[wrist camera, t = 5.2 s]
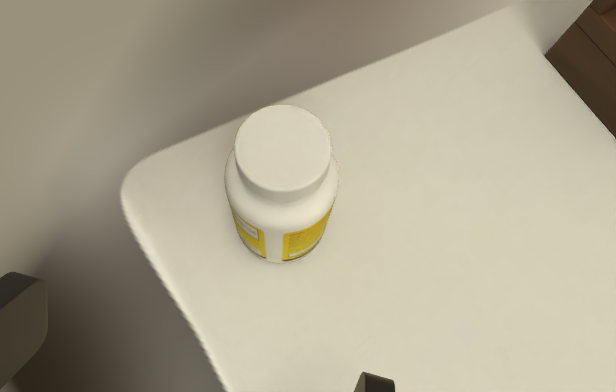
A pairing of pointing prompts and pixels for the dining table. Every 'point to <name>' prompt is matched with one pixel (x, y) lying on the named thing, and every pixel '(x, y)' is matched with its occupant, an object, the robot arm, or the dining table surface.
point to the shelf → (591, 59)
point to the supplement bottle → (281, 182)
